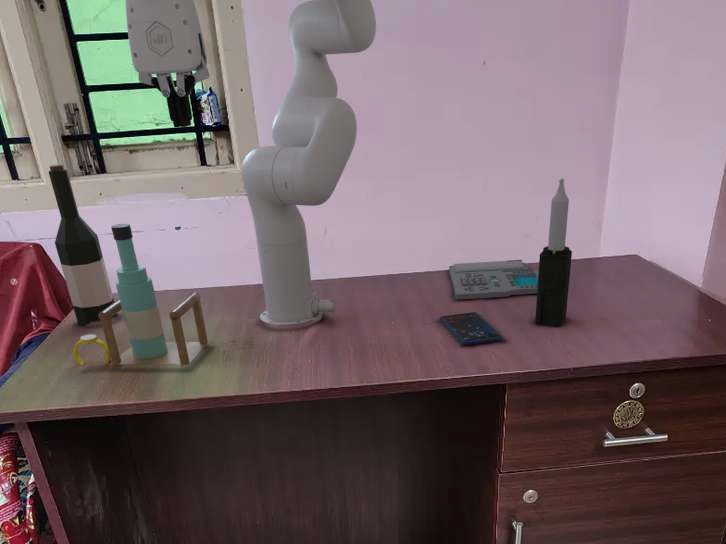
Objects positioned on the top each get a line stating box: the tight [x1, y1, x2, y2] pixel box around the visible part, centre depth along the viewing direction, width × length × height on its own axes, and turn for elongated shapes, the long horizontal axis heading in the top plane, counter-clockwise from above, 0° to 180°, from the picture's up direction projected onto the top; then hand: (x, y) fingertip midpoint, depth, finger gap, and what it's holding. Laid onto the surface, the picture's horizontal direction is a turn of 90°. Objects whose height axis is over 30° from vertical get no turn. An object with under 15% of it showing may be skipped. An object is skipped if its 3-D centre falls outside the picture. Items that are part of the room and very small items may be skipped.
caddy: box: [98, 292, 210, 366], centre depth 127 cm, size 15×11×10 cm
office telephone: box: [448, 259, 539, 300], centre depth 157 cm, size 23×3×20 cm
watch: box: [73, 333, 111, 366], centre depth 126 cm, size 6×3×6 cm, turn 93°
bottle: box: [111, 223, 167, 359], centre depth 124 cm, size 14×6×22 cm, turn 83°
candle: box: [534, 178, 573, 327], centre depth 128 cm, size 5×5×25 cm
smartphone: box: [439, 311, 503, 346], centre depth 133 cm, size 8×1×15 cm
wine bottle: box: [48, 164, 119, 327], centre depth 143 cm, size 8×8×30 cm
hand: (182, 126), depth 110 cm, fingers closed
